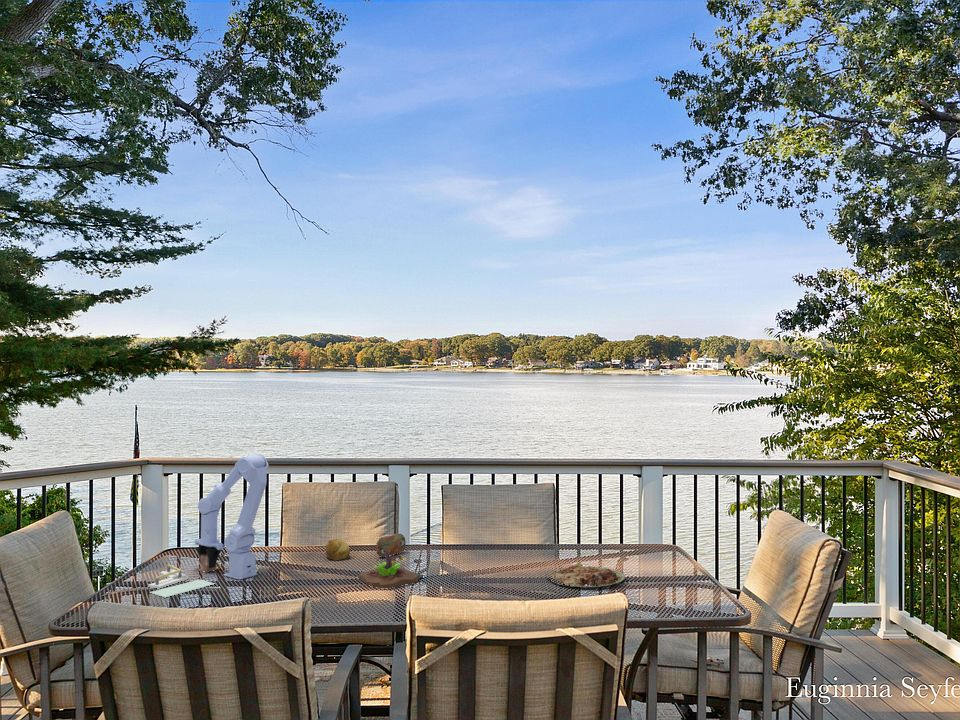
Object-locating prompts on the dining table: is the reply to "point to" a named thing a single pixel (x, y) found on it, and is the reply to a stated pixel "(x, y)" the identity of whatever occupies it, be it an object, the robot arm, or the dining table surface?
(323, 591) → the dining table surface
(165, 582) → the wire track
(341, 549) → the bread roll
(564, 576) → the rice dish
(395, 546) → the tree canopy
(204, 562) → the rust block
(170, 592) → the end mat
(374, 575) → the plant
